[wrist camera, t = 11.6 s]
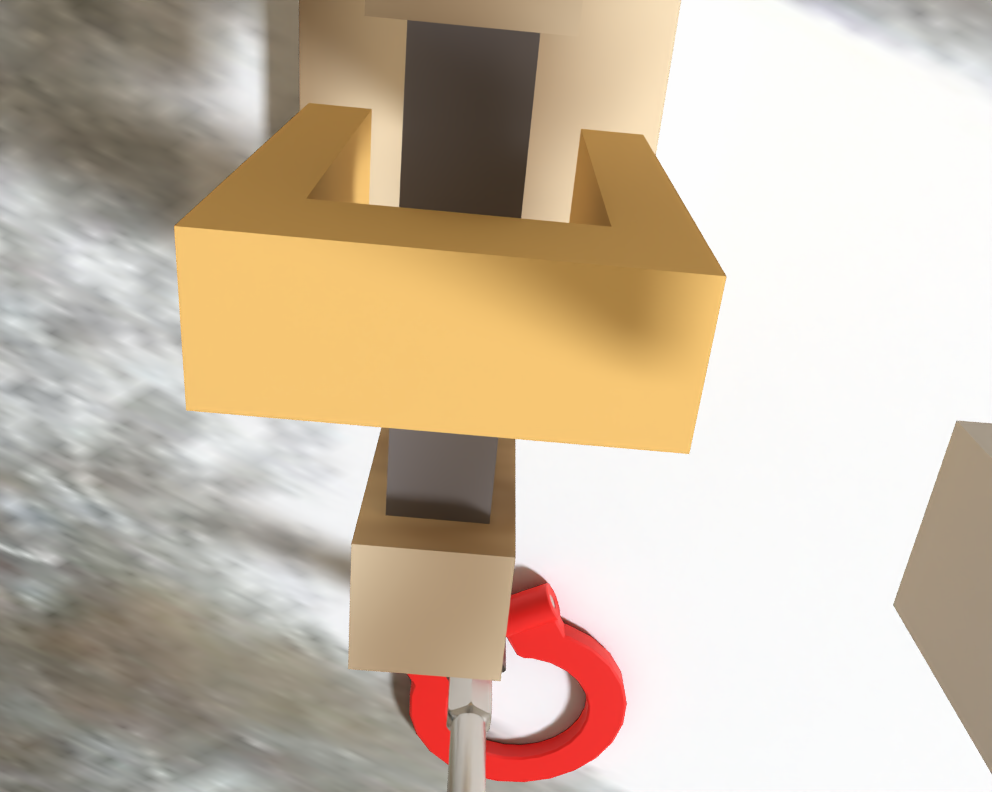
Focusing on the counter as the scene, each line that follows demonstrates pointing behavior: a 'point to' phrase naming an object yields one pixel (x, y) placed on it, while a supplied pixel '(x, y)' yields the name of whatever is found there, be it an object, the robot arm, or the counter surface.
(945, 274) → the counter surface
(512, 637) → the tow hook
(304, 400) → the yellow u-shaped bracket
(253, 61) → the counter surface
